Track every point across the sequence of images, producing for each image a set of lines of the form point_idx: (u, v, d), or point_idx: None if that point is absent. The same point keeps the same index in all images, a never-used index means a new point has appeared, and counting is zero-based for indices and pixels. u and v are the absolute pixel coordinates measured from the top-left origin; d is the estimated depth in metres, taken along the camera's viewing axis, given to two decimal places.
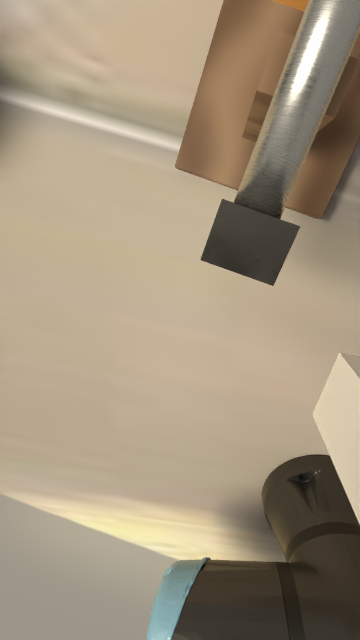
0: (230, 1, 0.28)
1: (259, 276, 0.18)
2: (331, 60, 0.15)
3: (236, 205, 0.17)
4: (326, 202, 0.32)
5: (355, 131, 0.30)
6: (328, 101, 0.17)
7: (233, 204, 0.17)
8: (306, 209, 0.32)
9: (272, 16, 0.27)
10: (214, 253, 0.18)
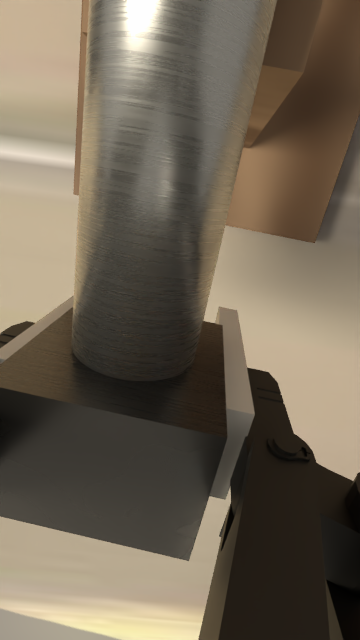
0: None
1: (147, 543, 0.07)
2: None
3: (24, 395, 0.06)
4: (320, 216, 0.19)
5: (355, 92, 0.17)
6: (263, 14, 0.05)
7: (15, 393, 0.06)
8: (289, 231, 0.20)
9: None
10: (16, 500, 0.07)
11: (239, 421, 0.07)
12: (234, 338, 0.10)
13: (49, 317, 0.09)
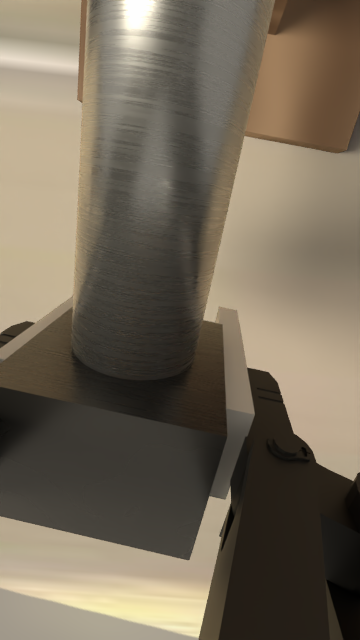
0: None
1: (147, 543, 0.07)
2: None
3: (23, 395, 0.06)
4: (353, 117, 0.17)
5: None
6: (261, 12, 0.05)
7: (14, 392, 0.06)
8: (318, 137, 0.18)
9: None
10: (16, 500, 0.07)
11: (239, 422, 0.07)
12: (234, 338, 0.10)
13: (49, 317, 0.09)
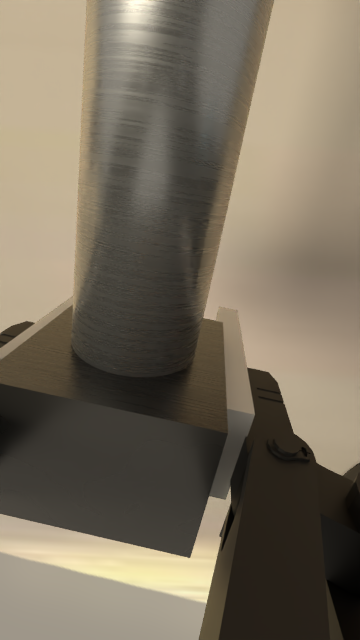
0: None
1: (148, 540, 0.07)
2: None
3: (23, 391, 0.06)
4: None
5: None
6: (261, 6, 0.05)
7: (14, 389, 0.06)
8: None
9: None
10: (16, 497, 0.07)
11: (239, 422, 0.07)
12: (234, 338, 0.10)
13: (49, 317, 0.09)
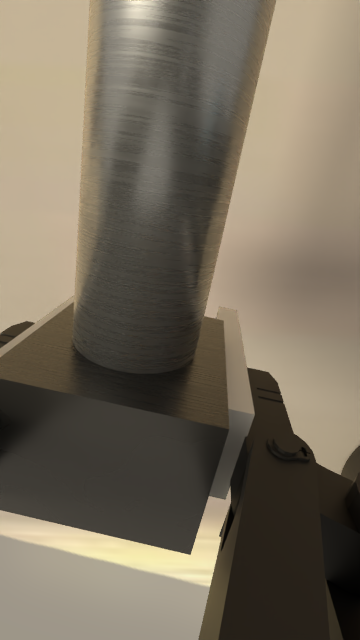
0: None
1: (148, 537, 0.07)
2: None
3: (25, 387, 0.06)
4: None
5: None
6: (264, 3, 0.05)
7: (16, 385, 0.06)
8: None
9: None
10: (16, 493, 0.07)
11: (239, 422, 0.07)
12: (234, 338, 0.10)
13: (49, 317, 0.09)
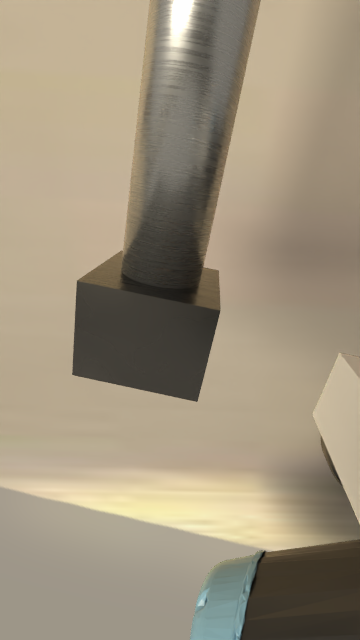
0: None
1: (171, 390, 0.11)
2: None
3: (103, 288, 0.10)
4: None
5: None
6: (238, 73, 0.09)
7: (98, 287, 0.10)
8: None
9: None
10: (91, 363, 0.11)
11: None
12: None
13: None
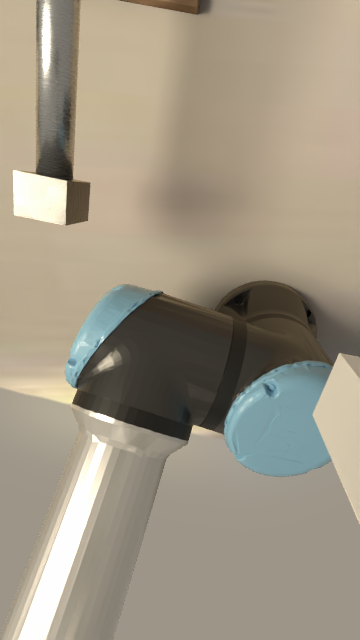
0: None
1: (54, 220, 0.26)
2: (55, 65, 0.23)
3: (23, 173, 0.25)
4: None
5: None
6: (68, 92, 0.24)
7: (21, 172, 0.25)
8: None
9: None
10: (21, 208, 0.26)
11: None
12: None
13: None
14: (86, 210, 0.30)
